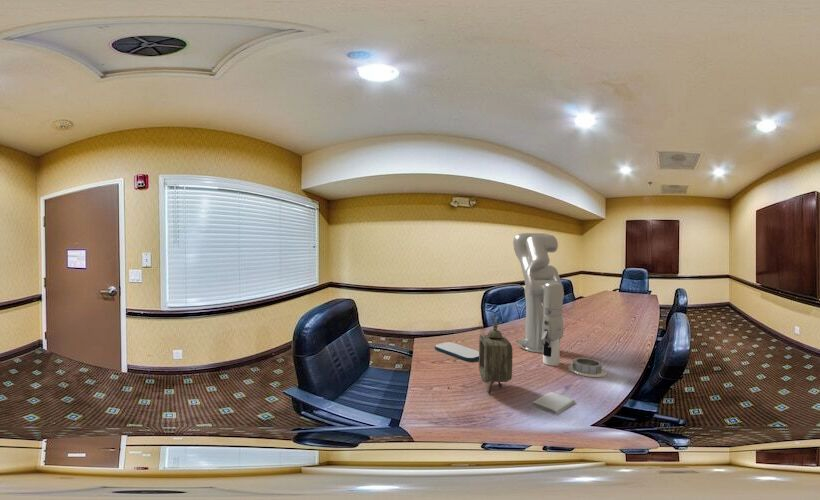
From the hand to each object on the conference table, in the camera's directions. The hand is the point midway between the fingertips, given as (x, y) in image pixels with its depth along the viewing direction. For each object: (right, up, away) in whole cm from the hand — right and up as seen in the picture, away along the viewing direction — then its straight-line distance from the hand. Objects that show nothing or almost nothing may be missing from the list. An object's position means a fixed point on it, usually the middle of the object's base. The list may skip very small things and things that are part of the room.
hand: (551, 353), depth 156 cm
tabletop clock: (-30, -5, -25) cm, 39 cm away
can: (0, -4, 0) cm, 4 cm away
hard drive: (-14, -6, -37) cm, 40 cm away
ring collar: (+11, -5, -8) cm, 14 cm away
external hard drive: (-37, -4, +12) cm, 40 cm away
